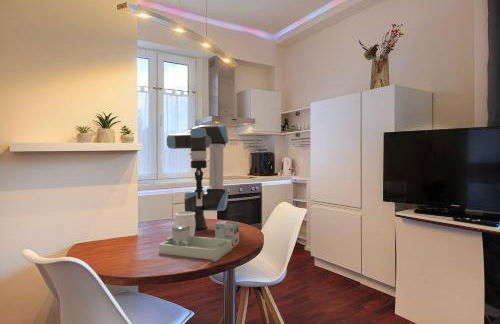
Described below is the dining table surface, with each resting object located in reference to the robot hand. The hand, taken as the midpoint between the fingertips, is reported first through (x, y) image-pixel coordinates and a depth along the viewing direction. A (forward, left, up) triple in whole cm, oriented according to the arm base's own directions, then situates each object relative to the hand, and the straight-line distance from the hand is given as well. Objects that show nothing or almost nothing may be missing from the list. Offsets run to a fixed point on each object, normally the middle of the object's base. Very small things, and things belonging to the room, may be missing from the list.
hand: (199, 203), depth 150 cm
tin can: (+8, -5, -20) cm, 22 cm away
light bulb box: (-10, +10, -22) cm, 26 cm away
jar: (-6, -12, -21) cm, 26 cm away
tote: (+8, +3, -21) cm, 23 cm away
